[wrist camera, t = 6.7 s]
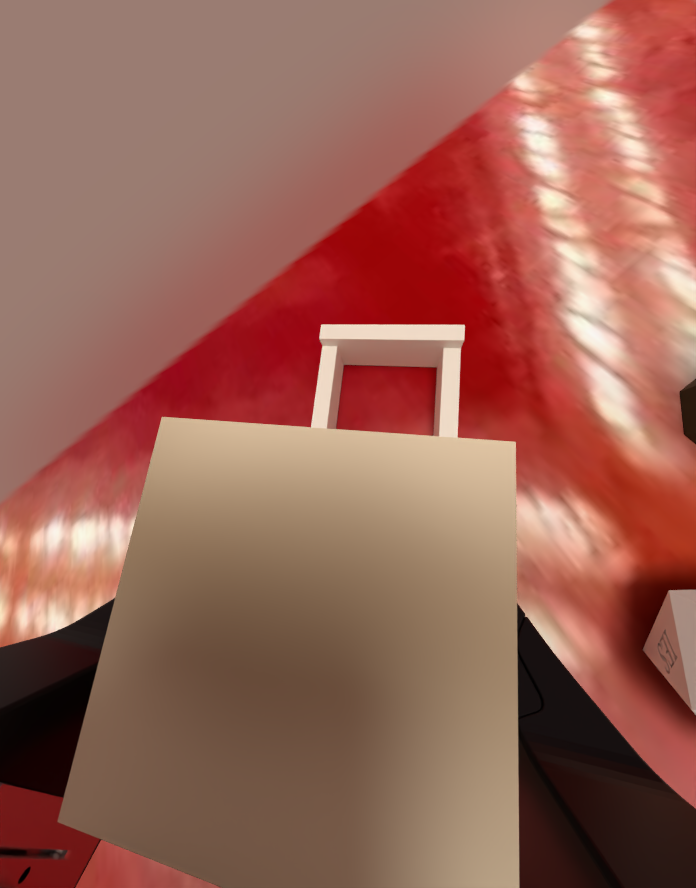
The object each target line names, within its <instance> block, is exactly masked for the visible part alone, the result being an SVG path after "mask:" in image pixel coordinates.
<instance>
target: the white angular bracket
mask: <svg viewBox="0 0 696 888" xmlns="http://www.w3.org/2000/svg"><path fill="white" fill-rule="evenodd" d="M464 333H465V325H321V330H320V337H319V339H320V341H321V344H322V353H321V360H320V367H319V374H318V382H317V389H316V396H315V403H314V410H313V417H312V424H311V428H326V429H336V424H337V416H338V408H339V399H340V391H341V383H342V375H343V367H344V365H373V366H409V367H437V378H436V396H435V415H434V433H433V436H439V437H453V438H457V436H458V409H459V382H460V355H461V347H462V344H463V342H464Z"/></svg>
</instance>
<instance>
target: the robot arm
mask: <svg viewBox="0 0 696 888" xmlns="http://www.w3.org/2000/svg"><path fill="white" fill-rule="evenodd" d="M114 601H115V598H114V599H113V600H111V601H109V602H108V603H106V604H104V605H103V606H101V607H100V608H98V609H96V610H95V611H93V612H91V613H90V614H88V615H86V616H85V617H83V618H81V619H80V620H78V621H76V622H74V623H73V624H71V625H69V626H67V627H65V628H62V629H60V630H58V631H55V632H53V633H50V634H47V635H44V636H41V637H37V638H34V639H30V640H26V641H23V642H19V643H15V644H11V645H8V646H4V647H0V888H75V887H76V885H77V883H78V881H79V880H80V878H81V876H82V874H83V872H84V870H85V868H86V867H87V865H88V863H89V861H90V859H91V857H92V855H93V854H94V852H95V850H96V848H97V846H98V844H99V842H100V841H101V839H99V838H96V837H94V836H91V835H89V834H86V833H84V832H81V831H79V830H76V829H74V828H71V827H69V826H66V825H64V824H61V823H59V822H57V821H58V818H59V814H60V810H61V806H62V802H63V798H64V794H65V791H66V787H67V783H68V779H69V775H70V771H71V767H72V763H73V760H74V756H75V752H76V748H77V744H78V740H79V736H80V732H81V729H82V725H83V721H84V717H85V713H86V709H87V705H88V702H89V698H90V694H91V690H92V686H93V682H94V678H95V674H96V671H97V667H98V663H99V659H100V655H101V651H102V647H103V643H104V640H105V636H106V632H107V628H108V624H109V620H110V616H111V612H112V609H113V605H114ZM517 658H518V778H519V888H696V809H695V808H694V807H693V806H692V805H690V804H689V803H688V802H687V801H686V800H684V799H683V798H682V797H681V796H680V795H679V794H677V793H676V792H675V791H674V790H673V789H672V788H671V787H670V786H669V785H668V784H666V783H665V782H664V781H663V780H662V779H661V778H660V777H659V776H658V775H657V774H656V773H655V772H654V771H653V770H652V769H651V768H650V767H649V765H648V764H647V763H646V762H645V761H644V760H643V759H642V758H641V757H640V756H639V755H638V753H637V752H636V751H635V750H634V749H633V748H632V747H631V745H630V744H629V743H628V742H627V741H626V739H625V738H624V737H623V736H622V735H621V733H620V732H619V731H618V730H617V729H616V728H615V726H614V725H613V724H612V723H611V722H610V720H609V719H608V718H607V717H606V716H605V714H604V713H603V712H602V711H601V710H600V708H599V707H598V706H597V705H596V704H595V703H594V701H593V700H592V699H591V698H590V697H589V695H588V694H587V693H586V692H585V691H584V689H583V688H582V687H581V686H580V685H579V683H578V682H577V681H576V680H575V679H574V677H573V676H572V675H571V674H570V673H569V671H568V670H567V669H566V668H565V666H564V665H563V664H562V663H561V661H560V660H559V659H558V658H557V656H556V655H555V654H554V653H553V651H552V650H551V649H550V647H549V646H548V645H547V643H546V642H545V641H544V639H543V638H542V637H541V635H540V634H539V633H538V631H537V630H536V629H535V627H534V626H533V624H532V623H531V622H530V620H529V619H528V618H527V617H525V613H524V612H523V611H522V609H521V608H520V606H519V605H518V604H517Z"/></svg>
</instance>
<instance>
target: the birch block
mask: <svg viewBox="0 0 696 888" xmlns="http://www.w3.org/2000/svg"><path fill="white" fill-rule="evenodd" d="M57 822H59V823H61V824H64V825H66V826H69V827H71V828H74V829H76V830H79V831H81V832H84V833H86V834H89V835H91V836H94V837H96V838H99V839H101V840H104V841H106V842H109V843H111V844H114V845H116V846H119V847H121V848H124V849H126V850H129V851H132V852H134V853H137V854H139V855H142V856H144V857H147V858H149V859H152V860H154V861H157V862H159V863H162V864H164V865H167V866H169V867H172V868H174V869H177V870H179V871H182V872H184V873H187V874H189V875H192V876H194V877H197V878H199V879H202V880H204V881H207V882H209V883H212V884H214V885H217V886H219V887H222V888H519V778H518V658H517V538H516V442H510V441H495V440H481V439H467V438H453V437H439V436H425V435H411V434H396V433H382V432H368V431H354V430H340V429H326V428H311V427H297V426H283V425H269V424H255V423H241V422H227V421H212V420H198V419H184V418H170V417H162V419H161V423H160V427H159V431H158V434H157V438H156V442H155V446H154V450H153V454H152V458H151V462H150V465H149V469H148V473H147V477H146V481H145V485H144V489H143V493H142V496H141V500H140V504H139V508H138V512H137V516H136V520H135V523H134V527H133V531H132V535H131V539H130V543H129V547H128V551H127V554H126V558H125V562H124V566H123V570H122V574H121V578H120V582H119V585H118V589H117V593H116V597H115V601H114V605H113V609H112V612H111V616H110V620H109V624H108V628H107V632H106V636H105V640H104V643H103V647H102V651H101V655H100V659H99V663H98V667H97V671H96V674H95V678H94V682H93V686H92V690H91V694H90V698H89V702H88V705H87V709H86V713H85V717H84V721H83V725H82V729H81V732H80V736H79V740H78V744H77V748H76V752H75V756H74V760H73V763H72V767H71V771H70V775H69V779H68V783H67V787H66V791H65V794H64V798H63V802H62V806H61V810H60V814H59V818H58V821H57Z"/></svg>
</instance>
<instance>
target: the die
mask: <svg viewBox="0 0 696 888" xmlns="http://www.w3.org/2000/svg"><path fill="white" fill-rule="evenodd" d="M643 651H644V652H645V654H646V655H647V656H648V657H649V658H650V660H651V661H652V662H653V663H654V665H655V666H656V667H657V668H658V670H659V671H660V672H661V673H662V674H663V676H664V677H665V678H666V679H667V681H668V682H669V683H670V684H671V685H672V687H673V688H674V689H675V690H676V692H677V693H678V694H679V695H680V697H681V698H682V699H683V700H684V701H685V703H686V704H687V705H688V706H689V708H690V709H691V710H692V711H693V712H694V714H695V715H696V590H669V591H668V593H667V596H666V598H665V600H664V602H663V605H662V607H661V609H660V611H659V614H658V616H657V618H656V620H655V623H654V625H653V627H652V629H651V632H650V634H649V636H648V638H647V641H646V643H645V645H644V648H643Z"/></svg>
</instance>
